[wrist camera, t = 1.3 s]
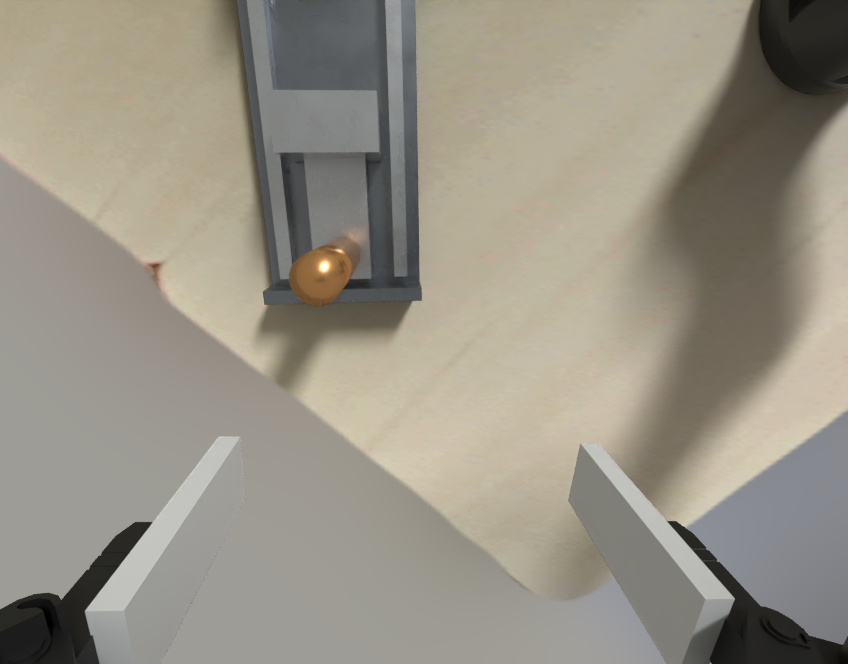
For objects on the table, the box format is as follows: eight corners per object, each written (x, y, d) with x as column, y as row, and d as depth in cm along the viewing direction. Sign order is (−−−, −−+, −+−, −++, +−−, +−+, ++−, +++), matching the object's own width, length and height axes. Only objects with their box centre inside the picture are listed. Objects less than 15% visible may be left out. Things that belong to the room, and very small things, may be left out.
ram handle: (288, 110, 33) (217, 43, 20) (379, 110, 34) (369, 45, 20) (305, 276, 37) (255, 314, 24) (386, 274, 38) (381, 310, 24)
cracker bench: (221, -187, 29) (149, -352, 21) (411, -177, 30) (417, -331, 21) (280, 293, 40) (248, 316, 31) (418, 289, 41) (424, 311, 32)
